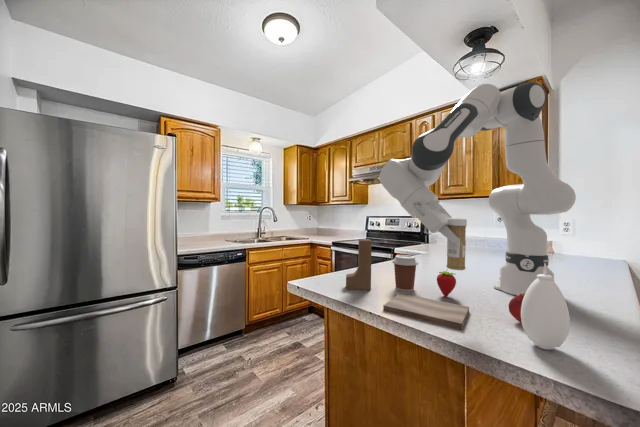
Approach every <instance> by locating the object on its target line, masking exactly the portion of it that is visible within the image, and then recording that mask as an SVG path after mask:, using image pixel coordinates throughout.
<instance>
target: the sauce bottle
mask: <svg viewBox="0 0 640 427" xmlns="http://www.w3.org/2000/svg"><path fill="white" fill-rule="evenodd" d="M566 301H567V300H566V299H565V296H564V294H563V292H562V291H561V289H560V287H559V286H558V284H556V282H555V280H554V281H553V277H552V276H550V275H547V273H546V263H545V264H544V273H543V274H538V275H537V279H536V280H534V281H533V282H532V284H531V285H530V286H529V288H528V289H527V291H526V293H525V295H524V298H523V301H522V306H521V321H522V323H521V326H522V327H523V328H522V329H523V331H524V333H525V335H526V337H527V338H528V339H529V340H530V341H531V342H532V343H533V345H535V346H537V347H538V348H540V349H542V350H547V351H548V350H554V349H555V348H559V347H561V346H562V345H563V344H564V342H566V340H567V338H568V336H569V333H570V332H569V331H570V328H571V326H570V325H571V324H570V322H571V320H570V312H569V308H568V304H567V302H566Z"/></svg>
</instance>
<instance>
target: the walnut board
mask: <svg viewBox="0 0 640 427" xmlns="http://www.w3.org/2000/svg"><path fill="white" fill-rule="evenodd" d="M382 311H384V312H388V313H392V314H396V315H400V316H404V317H409V318H413V319H417V320H421V321H424V322H428V323H429V322H430V323H433V324H437V325H440V326H444V327H449V328H453V329H456V330H461V331H462V330H463V328H464V325H465V322H466V321H467V317H468V316H469V313H470V306H466V305H461V304H456V303H452V302H447V301H441V300H435V299H431V298H427V297H426V298H425V297H423V296H422V297H421V296H415V295H412V294H406V293H400V292H399V293H398V294H397V295H395V296H394V297H392V298H391V299H390V300H389V301H387V302H385V303H384V304H383V309H382Z"/></svg>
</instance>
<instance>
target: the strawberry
mask: <svg viewBox="0 0 640 427" xmlns="http://www.w3.org/2000/svg"><path fill="white" fill-rule="evenodd" d="M448 269H449V268H447V269H446V271H444V270H443V271H438V273H439V274H438V275H437V276H436V283H437V286H438V289H439V290H440V292H441V293H442V295H443V296H444V297H445V298H446V297H448V296H449V295H450V294H451V293H452V292H453V291H454V289H455V288H456V285H457V279H456V277H455V276H454V275H455V273H453V272H449V271H448Z"/></svg>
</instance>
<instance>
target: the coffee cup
mask: <svg viewBox="0 0 640 427" xmlns="http://www.w3.org/2000/svg"><path fill="white" fill-rule="evenodd" d="M394 256H395V257H394V259H392V261H391V263H392V264H393V265H394V269H393V270H394V282H395V283H394V284H395V289H396V290H398V291H399V292H413V291H414V289H415V280H416V270H417V266H418V265H419V262H418V260H417V259H416V257H415V256H413V255H407V254H397V255H394Z"/></svg>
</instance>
